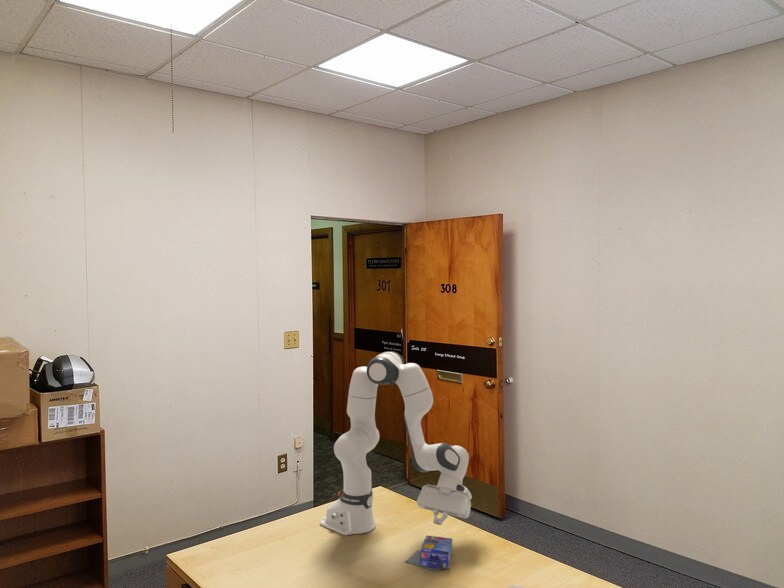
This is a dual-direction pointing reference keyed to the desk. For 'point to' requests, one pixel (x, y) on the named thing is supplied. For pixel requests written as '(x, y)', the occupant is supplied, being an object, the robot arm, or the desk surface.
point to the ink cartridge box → (436, 552)
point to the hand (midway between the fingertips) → (437, 523)
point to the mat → (418, 561)
